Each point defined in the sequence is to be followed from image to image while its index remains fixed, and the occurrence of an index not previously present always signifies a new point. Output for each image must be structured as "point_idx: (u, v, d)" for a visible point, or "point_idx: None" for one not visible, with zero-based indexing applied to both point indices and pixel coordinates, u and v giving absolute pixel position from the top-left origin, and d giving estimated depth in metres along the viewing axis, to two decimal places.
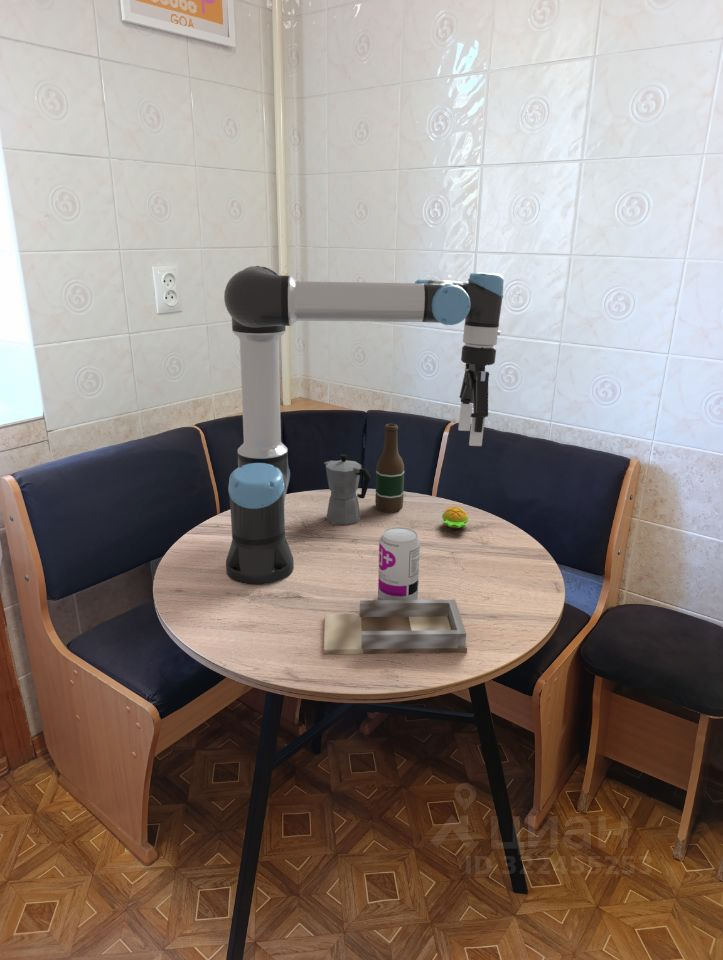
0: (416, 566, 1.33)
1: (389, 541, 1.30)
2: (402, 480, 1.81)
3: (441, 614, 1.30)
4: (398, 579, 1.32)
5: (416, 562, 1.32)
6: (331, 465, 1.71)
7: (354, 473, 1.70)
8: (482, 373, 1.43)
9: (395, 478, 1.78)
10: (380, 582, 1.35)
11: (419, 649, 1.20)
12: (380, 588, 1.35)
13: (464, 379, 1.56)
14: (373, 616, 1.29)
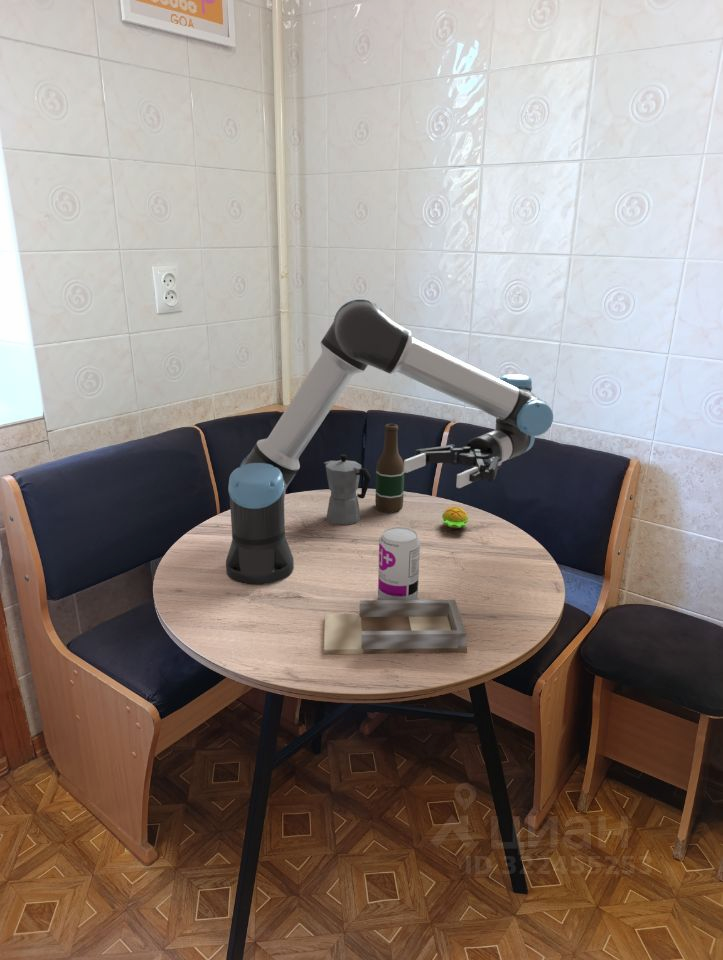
0: (416, 566, 1.33)
1: (389, 541, 1.30)
2: (402, 480, 1.81)
3: (441, 614, 1.30)
4: (398, 579, 1.32)
5: (416, 562, 1.32)
6: (331, 465, 1.71)
7: (354, 473, 1.70)
8: (501, 461, 1.42)
9: (395, 478, 1.78)
10: (380, 582, 1.35)
11: (419, 649, 1.20)
12: (380, 588, 1.35)
13: (441, 448, 1.48)
14: (373, 616, 1.29)
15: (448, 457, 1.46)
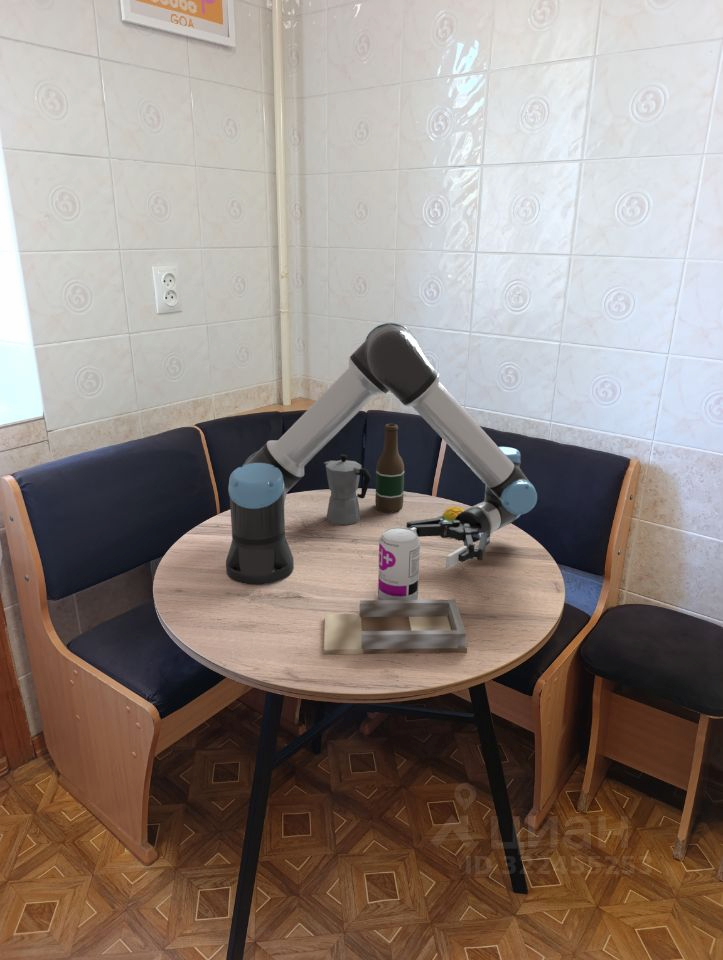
0: (416, 566, 1.33)
1: (389, 541, 1.30)
2: (402, 480, 1.81)
3: (441, 614, 1.30)
4: (398, 579, 1.32)
5: (416, 562, 1.32)
6: (331, 465, 1.71)
7: (354, 473, 1.70)
8: (489, 537, 1.46)
9: (395, 478, 1.78)
10: (380, 582, 1.35)
11: (419, 649, 1.20)
12: (380, 588, 1.35)
13: (431, 520, 1.51)
14: (373, 616, 1.29)
15: (438, 531, 1.49)
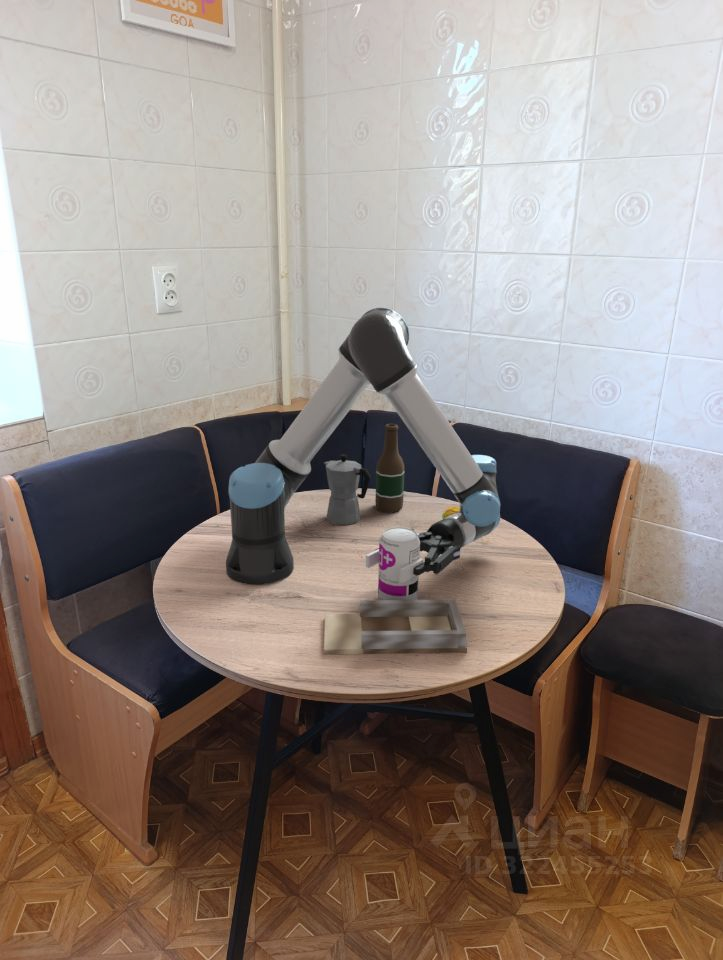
0: None
1: (389, 540, 1.30)
2: (402, 480, 1.81)
3: (441, 614, 1.30)
4: (398, 579, 1.32)
5: None
6: (331, 465, 1.71)
7: (354, 473, 1.70)
8: (459, 551, 1.38)
9: (395, 478, 1.78)
10: (380, 582, 1.35)
11: (419, 649, 1.20)
12: (380, 588, 1.35)
13: None
14: (373, 616, 1.29)
15: None
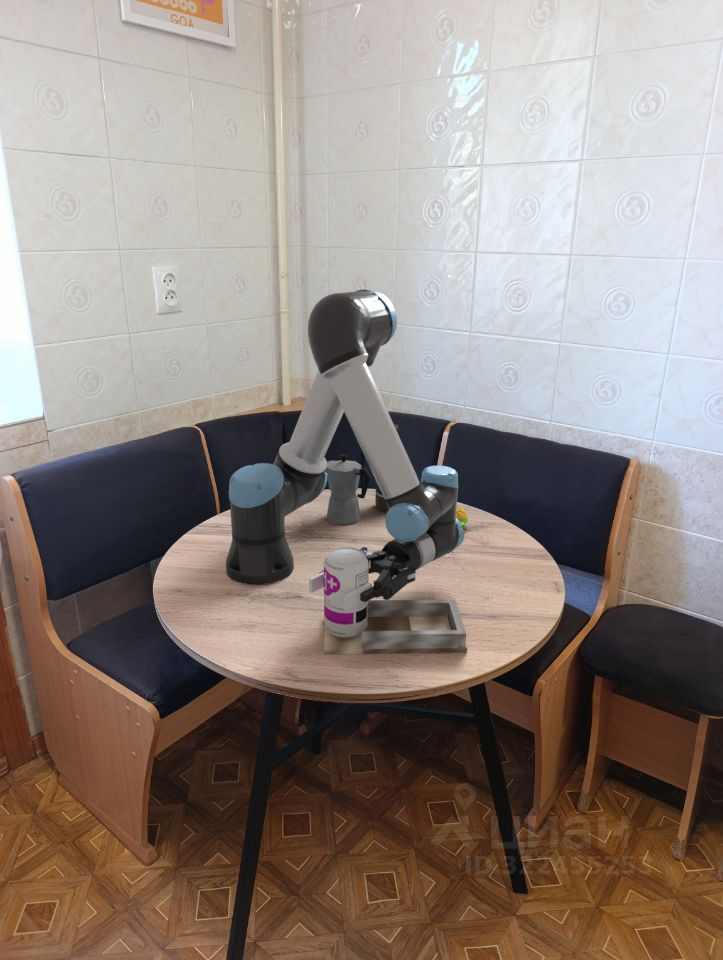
0: None
1: (333, 563, 1.17)
2: None
3: (441, 614, 1.30)
4: None
5: None
6: (331, 465, 1.71)
7: (354, 473, 1.70)
8: (414, 574, 1.25)
9: None
10: (325, 608, 1.21)
11: (419, 649, 1.20)
12: (325, 615, 1.22)
13: None
14: (373, 616, 1.29)
15: None
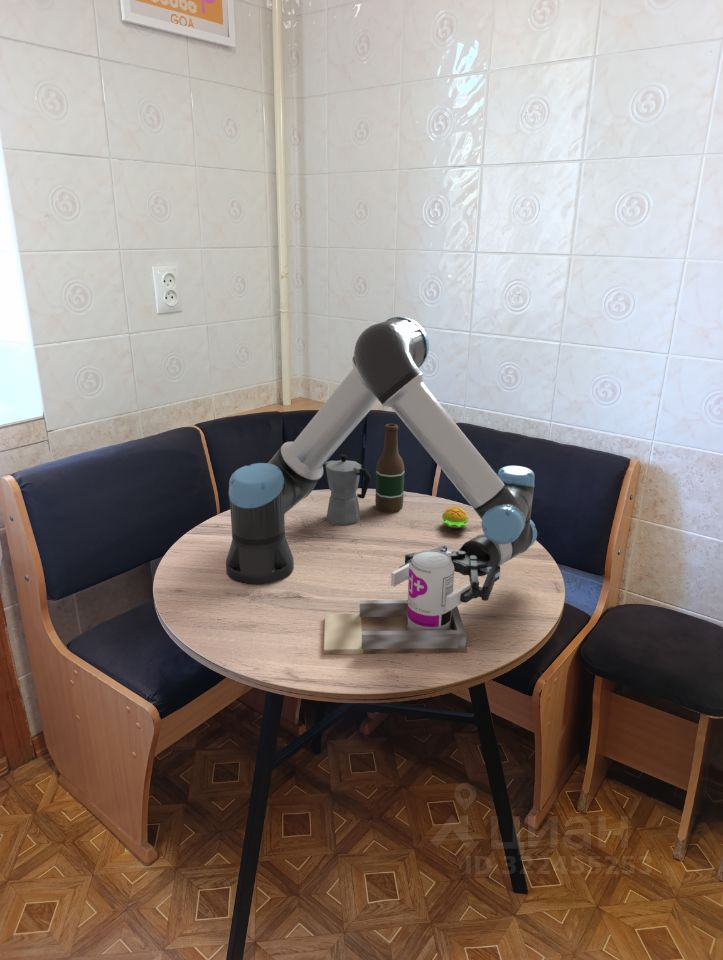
0: None
1: (421, 566, 1.18)
2: (402, 480, 1.81)
3: None
4: (430, 609, 1.19)
5: (450, 589, 1.20)
6: (331, 465, 1.71)
7: (354, 473, 1.70)
8: (499, 572, 1.26)
9: (395, 478, 1.78)
10: (410, 610, 1.22)
11: (419, 649, 1.20)
12: (409, 617, 1.23)
13: None
14: (373, 616, 1.29)
15: None
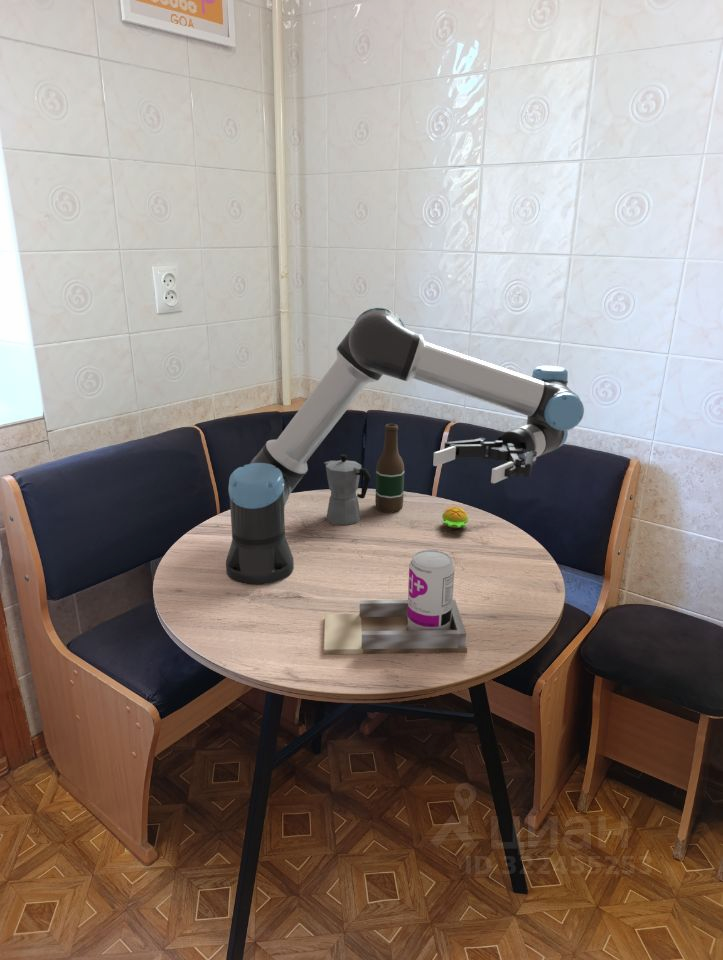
0: (450, 594, 1.20)
1: (421, 566, 1.18)
2: (402, 480, 1.81)
3: None
4: (430, 609, 1.19)
5: (450, 590, 1.20)
6: (331, 465, 1.71)
7: (354, 473, 1.70)
8: (536, 456, 1.34)
9: (395, 478, 1.78)
10: (410, 610, 1.22)
11: (419, 649, 1.20)
12: (409, 617, 1.23)
13: (471, 441, 1.40)
14: (373, 616, 1.29)
15: (479, 451, 1.38)
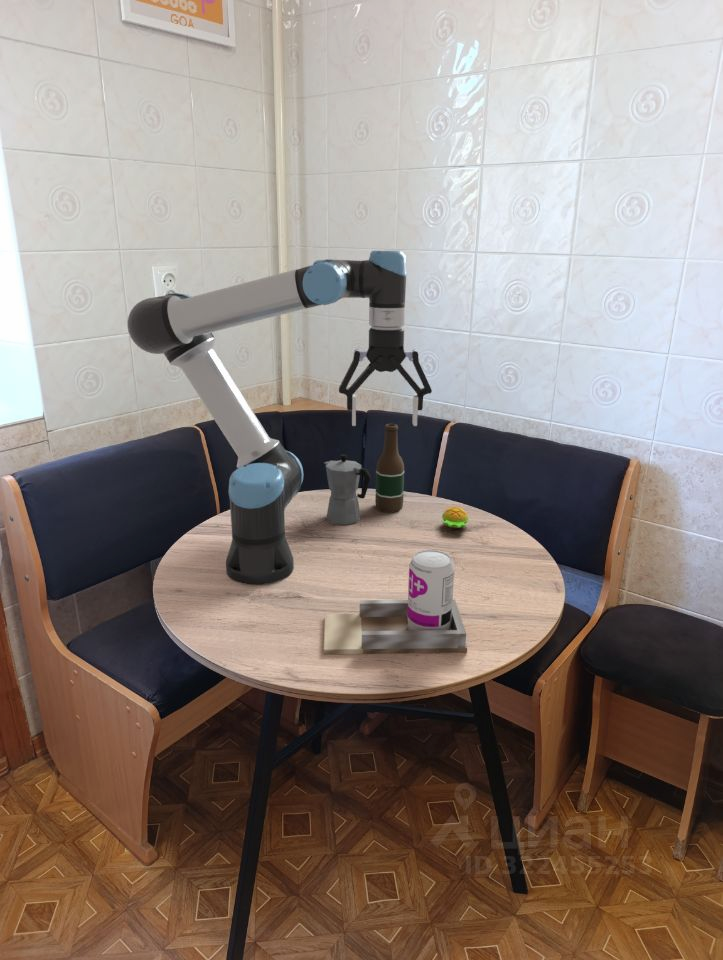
0: (450, 594, 1.20)
1: (421, 566, 1.18)
2: (402, 480, 1.81)
3: None
4: (430, 609, 1.19)
5: (450, 590, 1.20)
6: (331, 465, 1.71)
7: (354, 473, 1.70)
8: (354, 351, 1.42)
9: (395, 478, 1.78)
10: (410, 610, 1.22)
11: (419, 649, 1.20)
12: (410, 617, 1.23)
13: (415, 368, 1.45)
14: (373, 616, 1.29)
15: None
